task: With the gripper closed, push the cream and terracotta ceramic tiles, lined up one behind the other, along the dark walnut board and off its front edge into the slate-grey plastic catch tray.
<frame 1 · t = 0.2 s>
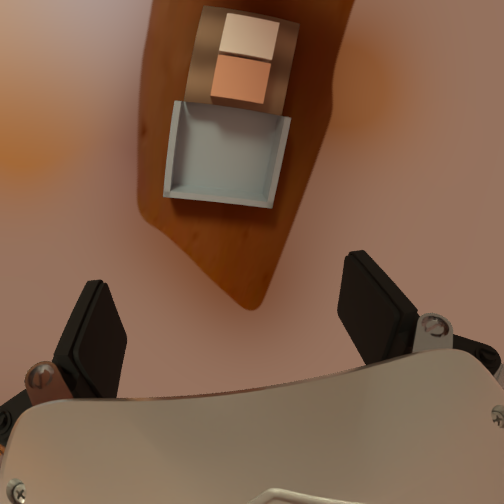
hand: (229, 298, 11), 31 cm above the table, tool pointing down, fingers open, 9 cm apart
terracotta tile: (238, 80, 31), point 3 cm above the table, touching walnut board
walnut board: (240, 61, 32), on the table
catch tray: (223, 150, 38), on the table
cream tile: (246, 39, 29), point 3 cm above the table, touching walnut board
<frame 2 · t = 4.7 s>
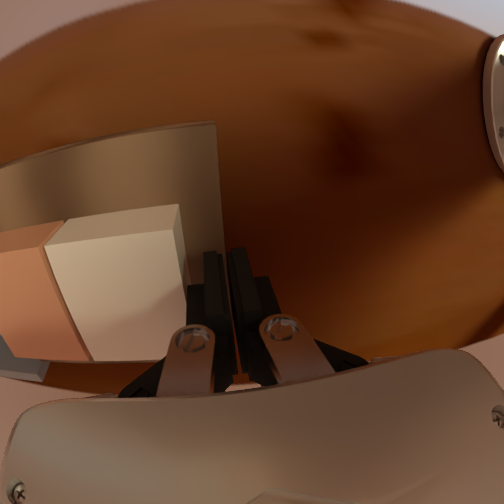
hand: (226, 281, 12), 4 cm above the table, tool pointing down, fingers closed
terracotta tile: (42, 282, 12), point 3 cm above the table, touching walnut board
walnut board: (106, 247, 15), on the table
cream tile: (134, 273, 13), point 3 cm above the table, touching gripper, walnut board
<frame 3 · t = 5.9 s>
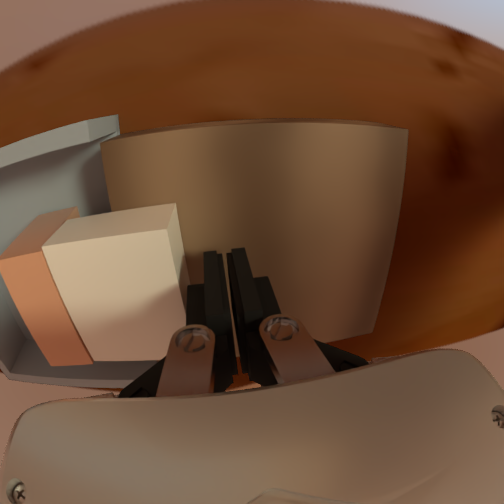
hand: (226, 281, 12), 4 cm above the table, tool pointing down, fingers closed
terracotta tile: (80, 282, 12), point 3 cm above the table, tilted 85°, touching catch tray
walnut board: (259, 233, 16), on the table
catch tray: (49, 257, 15), on the table
cream tile: (133, 273, 13), point 3 cm above the table, touching gripper, walnut board
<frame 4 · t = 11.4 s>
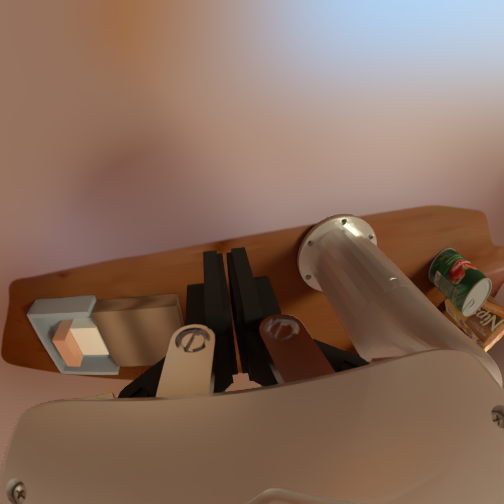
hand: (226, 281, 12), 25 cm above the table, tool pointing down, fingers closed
candy box: (457, 293, 54), on the table
canned tomato: (442, 265, 49), on the table
terracotta tile: (76, 343, 40), point 3 cm above the table, tilted 90°, touching catch tray
walnut board: (144, 327, 44), on the table
catch tray: (78, 330, 43), on the table
cream tile: (92, 331, 43), resting on catch tray
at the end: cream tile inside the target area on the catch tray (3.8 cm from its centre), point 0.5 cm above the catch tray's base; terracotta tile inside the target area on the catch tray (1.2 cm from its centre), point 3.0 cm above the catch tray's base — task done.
